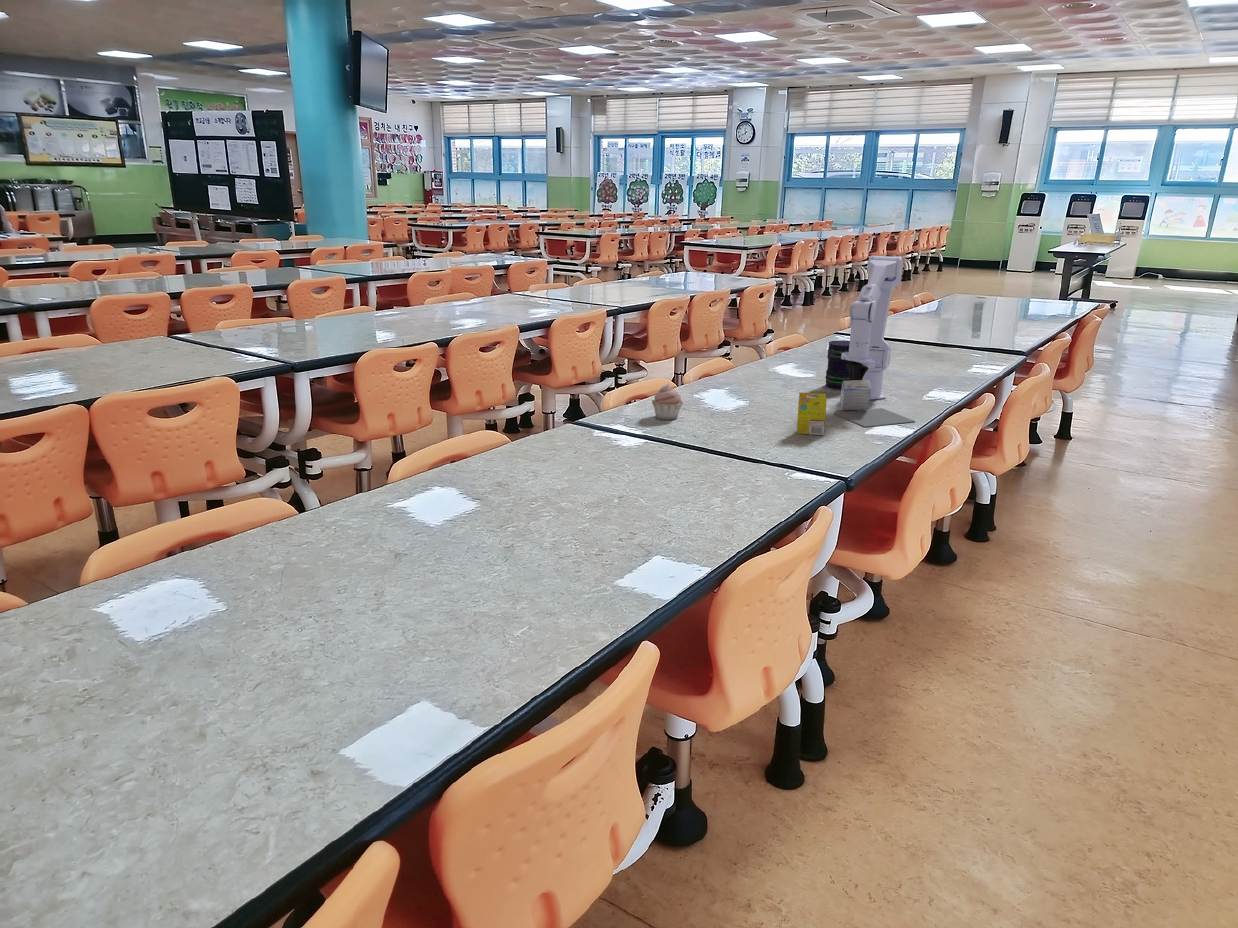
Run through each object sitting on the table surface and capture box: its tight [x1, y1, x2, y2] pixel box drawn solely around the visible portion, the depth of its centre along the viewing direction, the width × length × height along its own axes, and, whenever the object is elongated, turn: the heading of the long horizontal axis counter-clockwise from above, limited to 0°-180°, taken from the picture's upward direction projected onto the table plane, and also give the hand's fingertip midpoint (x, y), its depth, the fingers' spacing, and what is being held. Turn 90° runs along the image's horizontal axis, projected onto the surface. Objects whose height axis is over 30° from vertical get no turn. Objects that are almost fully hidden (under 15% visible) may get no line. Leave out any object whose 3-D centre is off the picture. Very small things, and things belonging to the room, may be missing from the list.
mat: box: [833, 407, 916, 428], centre depth 243 cm, size 16×17×1 cm
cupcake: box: [651, 383, 684, 421], centre depth 242 cm, size 9×9×10 cm
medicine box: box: [839, 380, 872, 411], centre depth 248 cm, size 8×4×9 cm
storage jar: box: [824, 339, 850, 391], centre depth 278 cm, size 10×10×15 cm
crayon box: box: [796, 392, 827, 436], centre depth 226 cm, size 7×3×12 cm, turn 74°
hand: (855, 387), depth 250 cm, fingers closed
